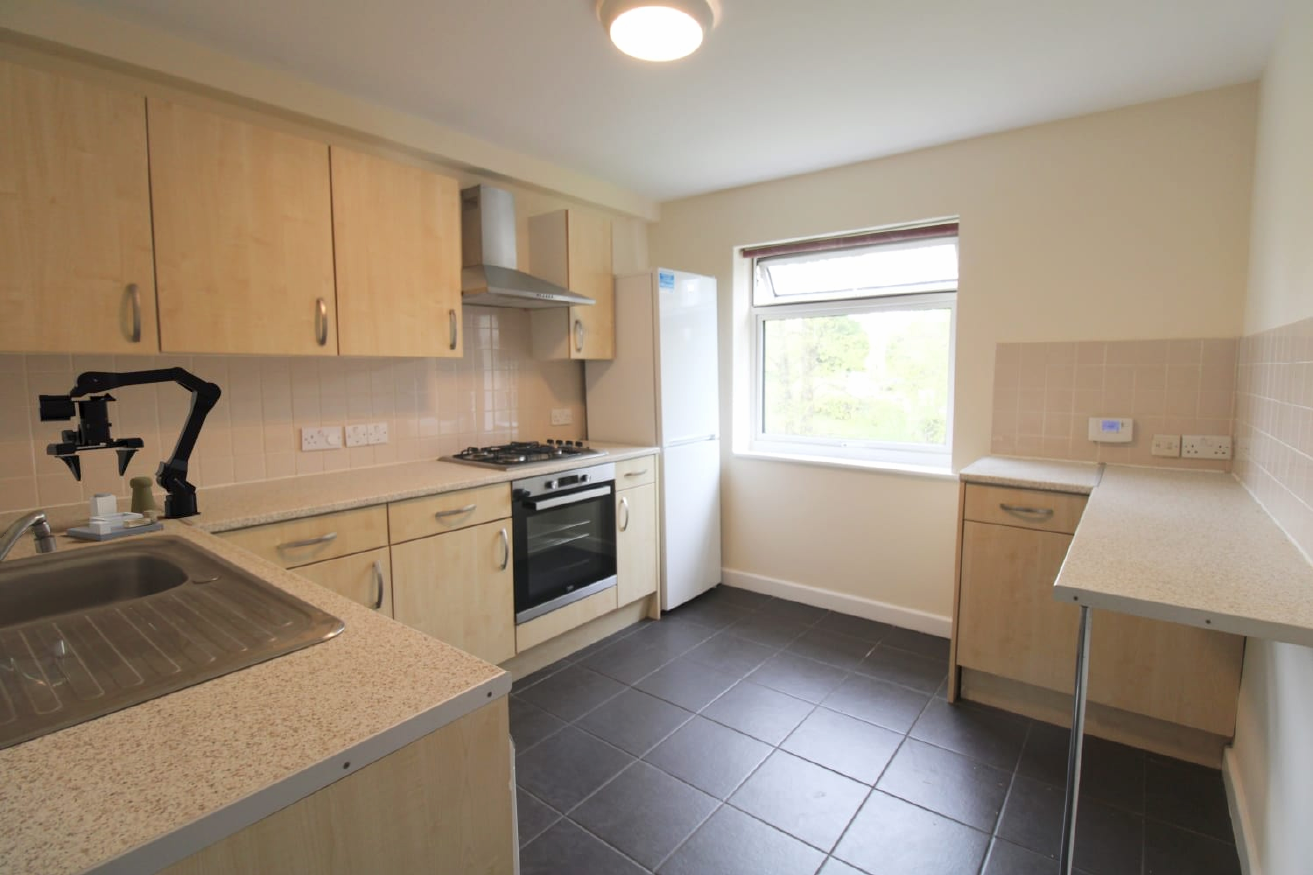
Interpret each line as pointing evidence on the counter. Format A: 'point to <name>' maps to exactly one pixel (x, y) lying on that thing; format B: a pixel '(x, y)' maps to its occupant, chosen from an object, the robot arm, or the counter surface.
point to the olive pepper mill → (142, 495)
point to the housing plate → (111, 527)
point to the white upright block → (103, 504)
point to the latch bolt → (142, 519)
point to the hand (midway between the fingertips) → (100, 478)
